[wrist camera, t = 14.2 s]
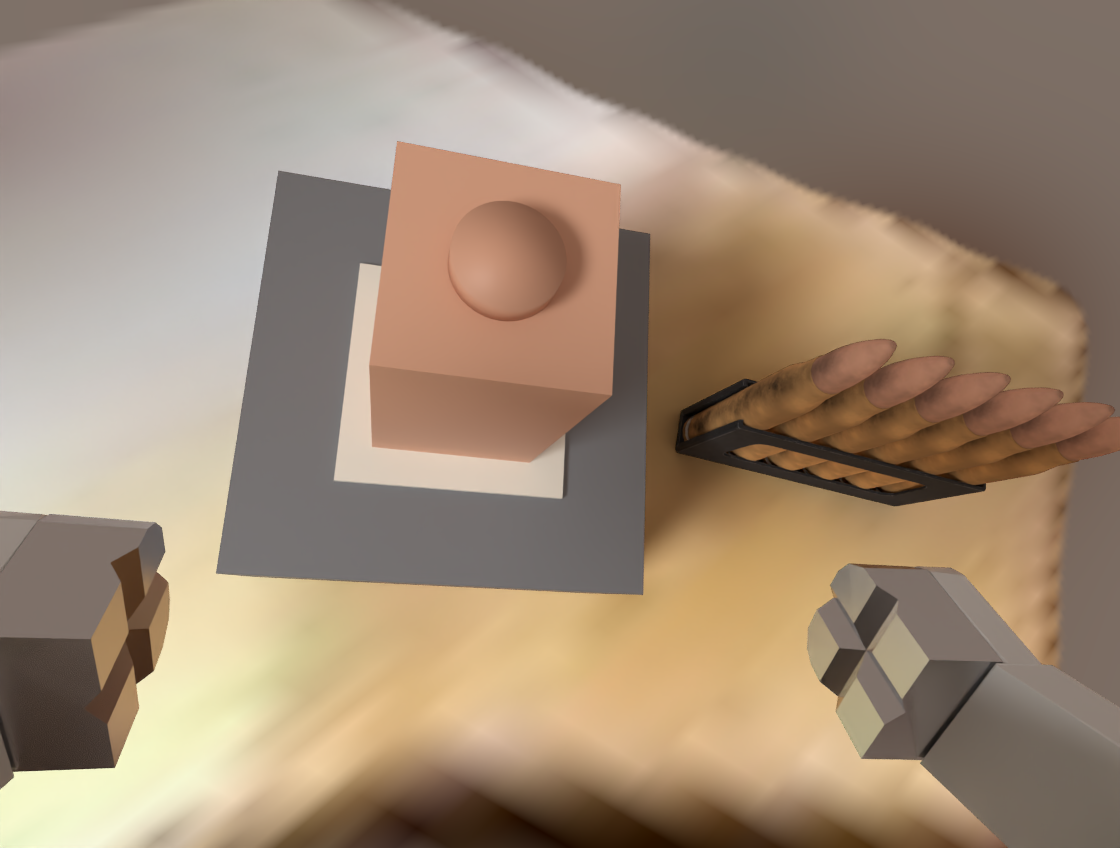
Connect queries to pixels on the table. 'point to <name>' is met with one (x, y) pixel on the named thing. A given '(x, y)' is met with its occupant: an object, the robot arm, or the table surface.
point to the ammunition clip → (893, 426)
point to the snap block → (491, 306)
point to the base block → (409, 476)
